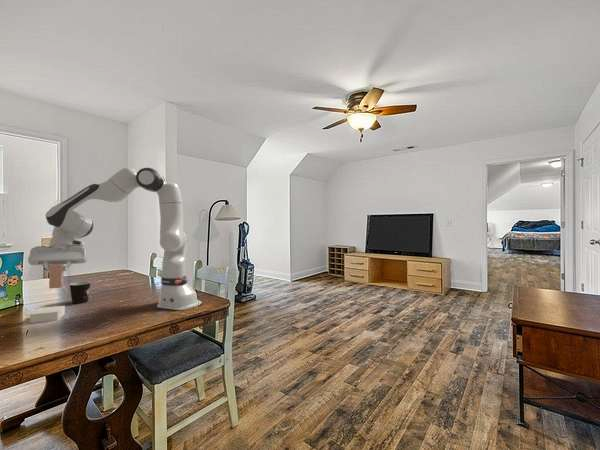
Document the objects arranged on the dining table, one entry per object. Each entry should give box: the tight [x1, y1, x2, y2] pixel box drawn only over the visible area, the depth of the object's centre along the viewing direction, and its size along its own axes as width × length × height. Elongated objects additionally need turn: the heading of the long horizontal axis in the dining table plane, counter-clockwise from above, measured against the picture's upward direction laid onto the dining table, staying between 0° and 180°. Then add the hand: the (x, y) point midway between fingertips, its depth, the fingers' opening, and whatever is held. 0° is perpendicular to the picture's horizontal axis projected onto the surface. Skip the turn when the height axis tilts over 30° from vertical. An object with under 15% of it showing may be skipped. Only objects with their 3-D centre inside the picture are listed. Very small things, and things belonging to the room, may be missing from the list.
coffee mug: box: [69, 280, 91, 305], centre depth 146 cm, size 12×9×10 cm
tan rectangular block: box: [48, 264, 65, 289], centre depth 123 cm, size 4×4×10 cm
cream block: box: [29, 305, 66, 324], centre depth 122 cm, size 9×9×4 cm
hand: (56, 270), depth 122 cm, fingers closed on tan rectangular block, 4 cm apart
